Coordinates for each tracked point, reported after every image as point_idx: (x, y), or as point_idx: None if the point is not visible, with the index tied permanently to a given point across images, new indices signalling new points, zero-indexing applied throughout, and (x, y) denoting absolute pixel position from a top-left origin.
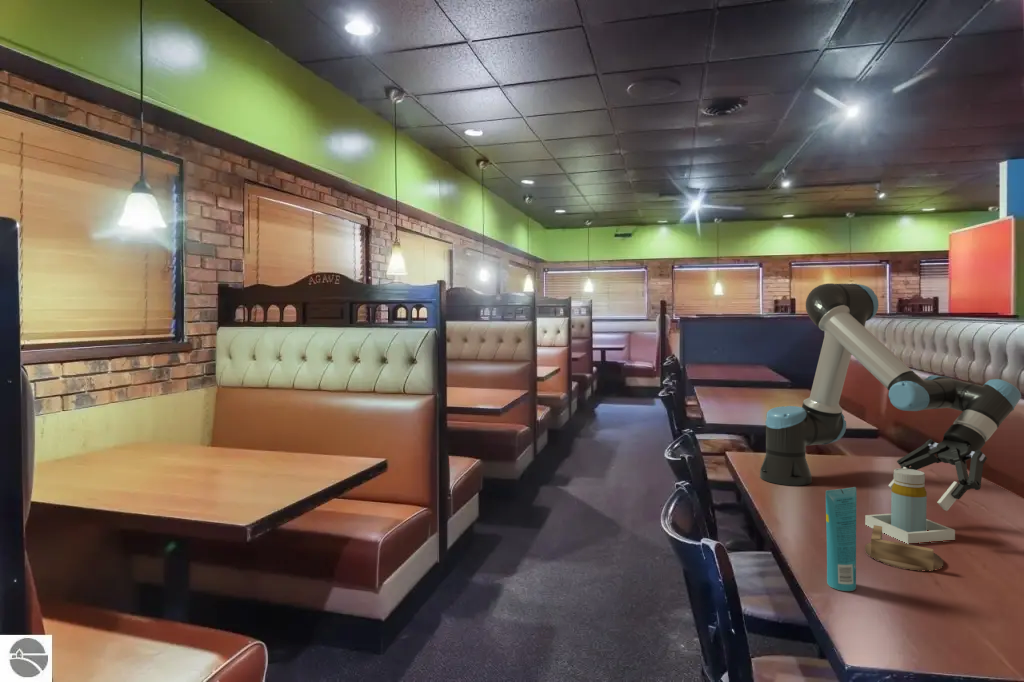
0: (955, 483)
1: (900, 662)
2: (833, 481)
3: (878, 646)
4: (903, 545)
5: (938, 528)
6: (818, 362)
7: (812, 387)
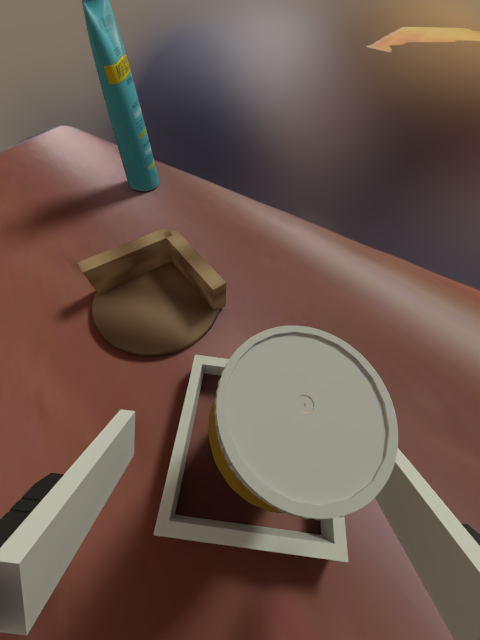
0: (11, 540)
1: (38, 141)
2: None
3: (60, 144)
4: (126, 245)
5: (209, 523)
6: None
7: None
